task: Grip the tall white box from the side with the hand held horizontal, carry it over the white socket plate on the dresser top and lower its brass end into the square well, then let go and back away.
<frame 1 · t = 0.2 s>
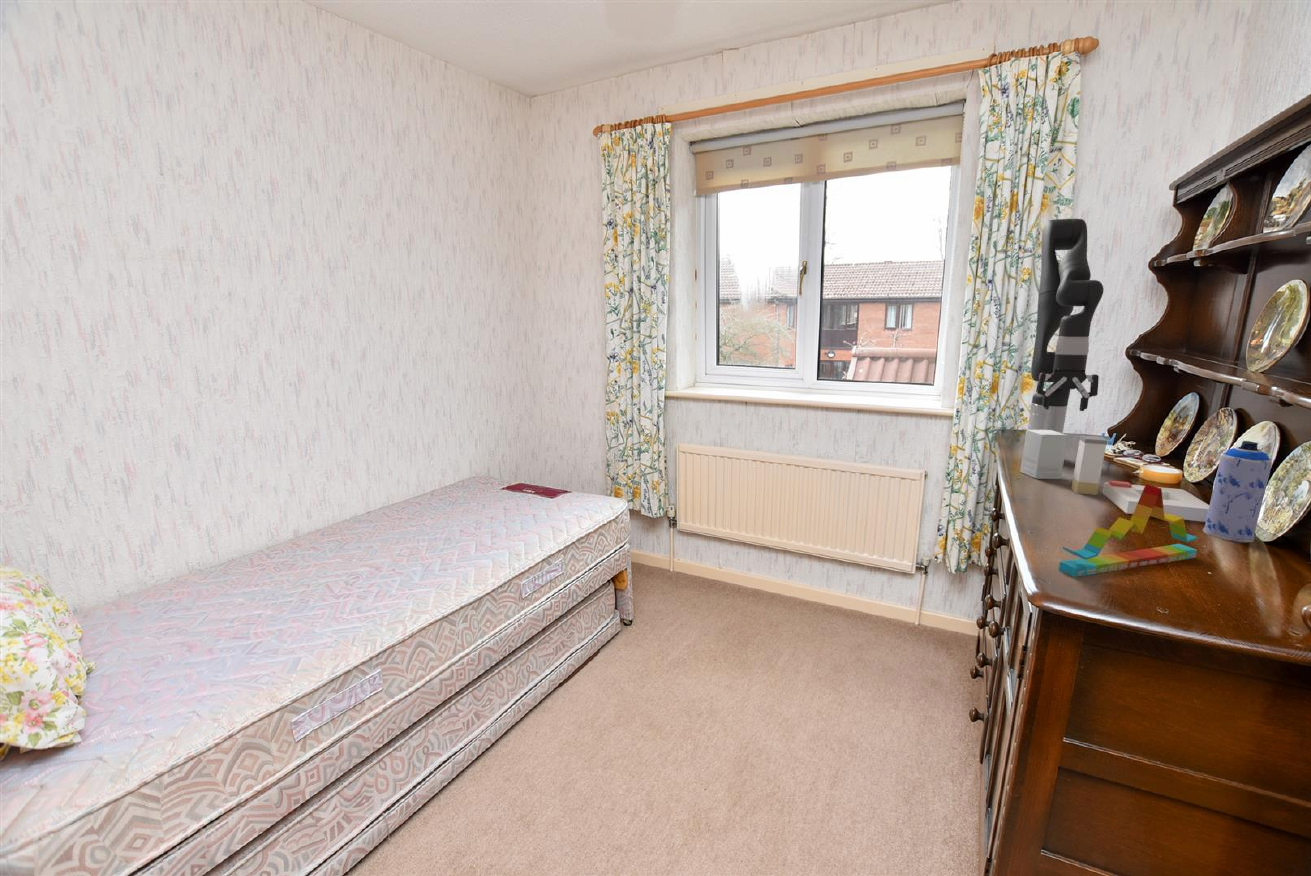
hand: (1063, 410, 167), 18 cm above the table, tool pointing down, fingers open, 8 cm apart
socket: (1154, 507, 139), on the table
tall white box: (1083, 491, 150), on the table
chart: (1128, 566, 107), on the table
aerosol can: (1227, 535, 122), on the table
supplement box: (1039, 476, 165), on the table
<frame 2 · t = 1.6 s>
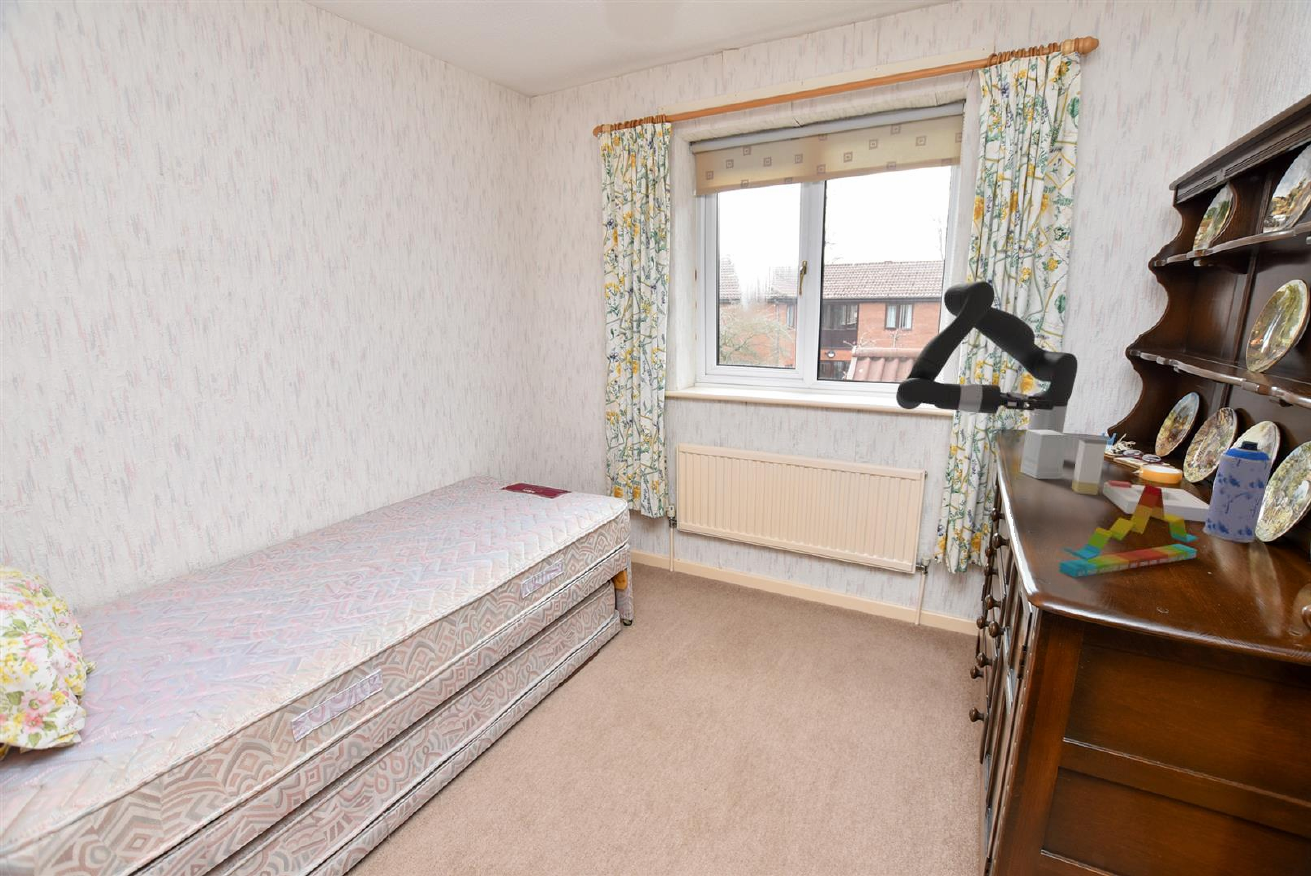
hand: (1048, 403, 149), 22 cm above the table, tool horizontal, fingers open, 8 cm apart
nothing on the table moved.
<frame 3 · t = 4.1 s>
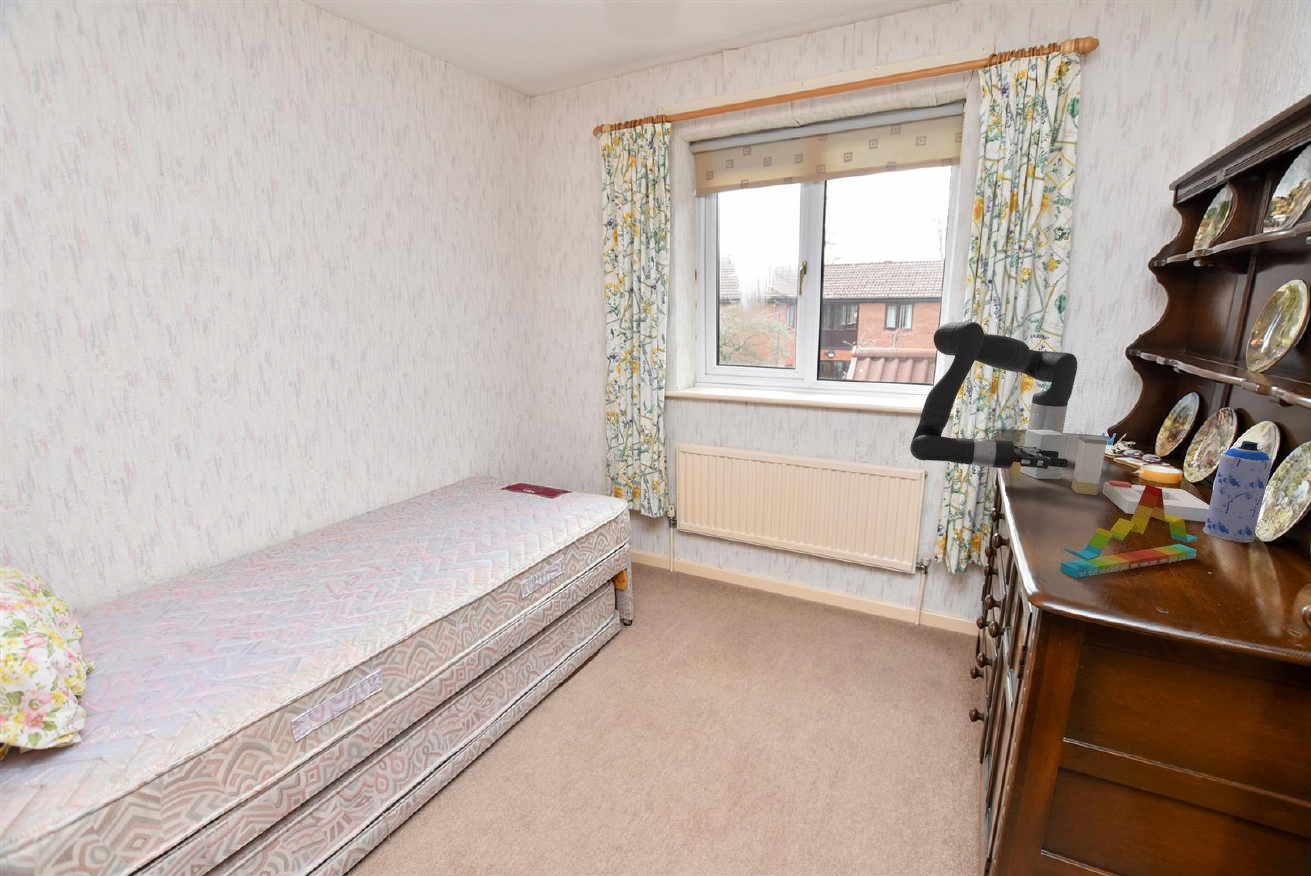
hand: (1062, 459, 151), 8 cm above the table, tool horizontal, fingers open, 8 cm apart
nothing on the table moved.
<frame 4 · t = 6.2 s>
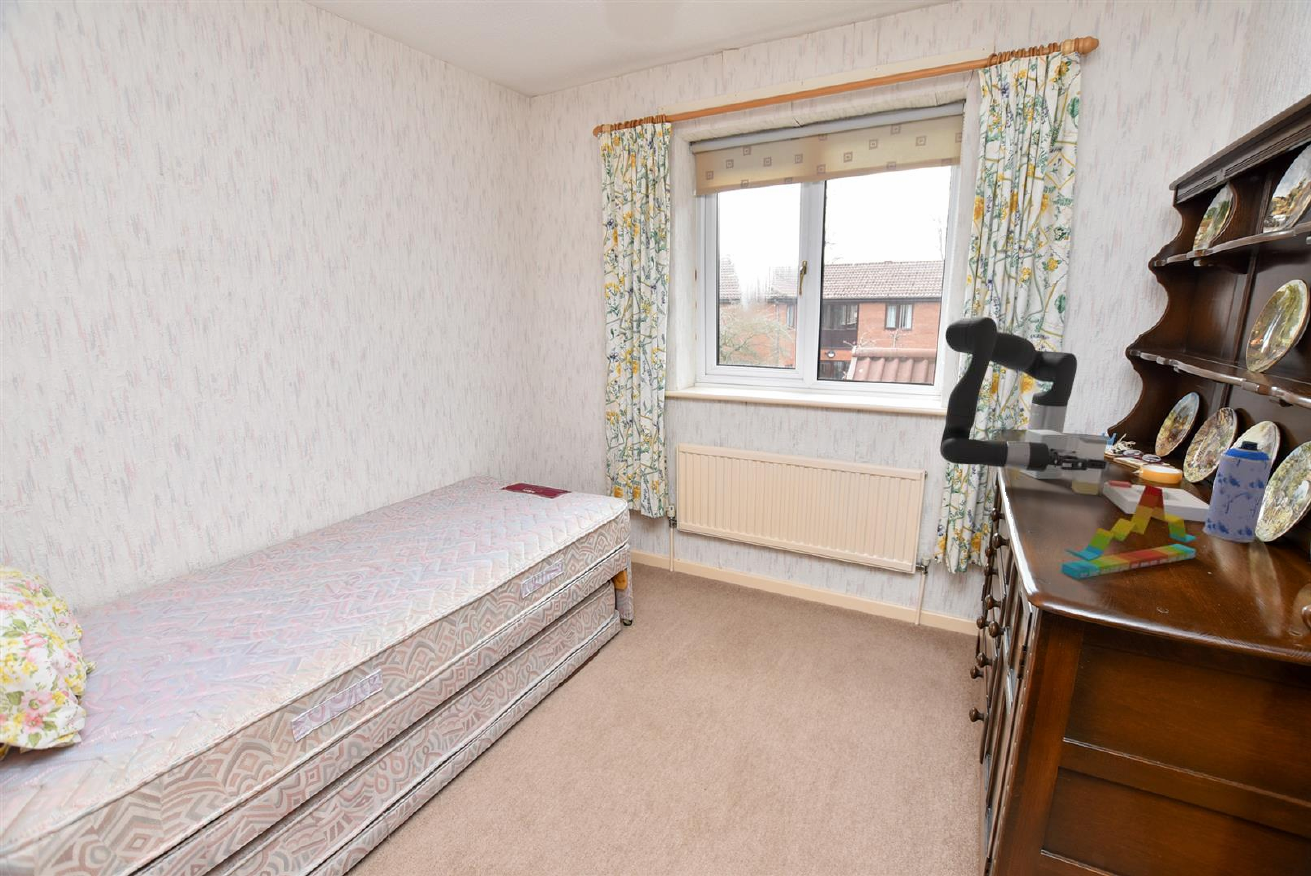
hand: (1101, 462, 148), 8 cm above the table, tool horizontal, fingers closed on tall white box, 4 cm apart
tall white box: (1083, 491, 150), on the table, touching gripper
everything else where it was.
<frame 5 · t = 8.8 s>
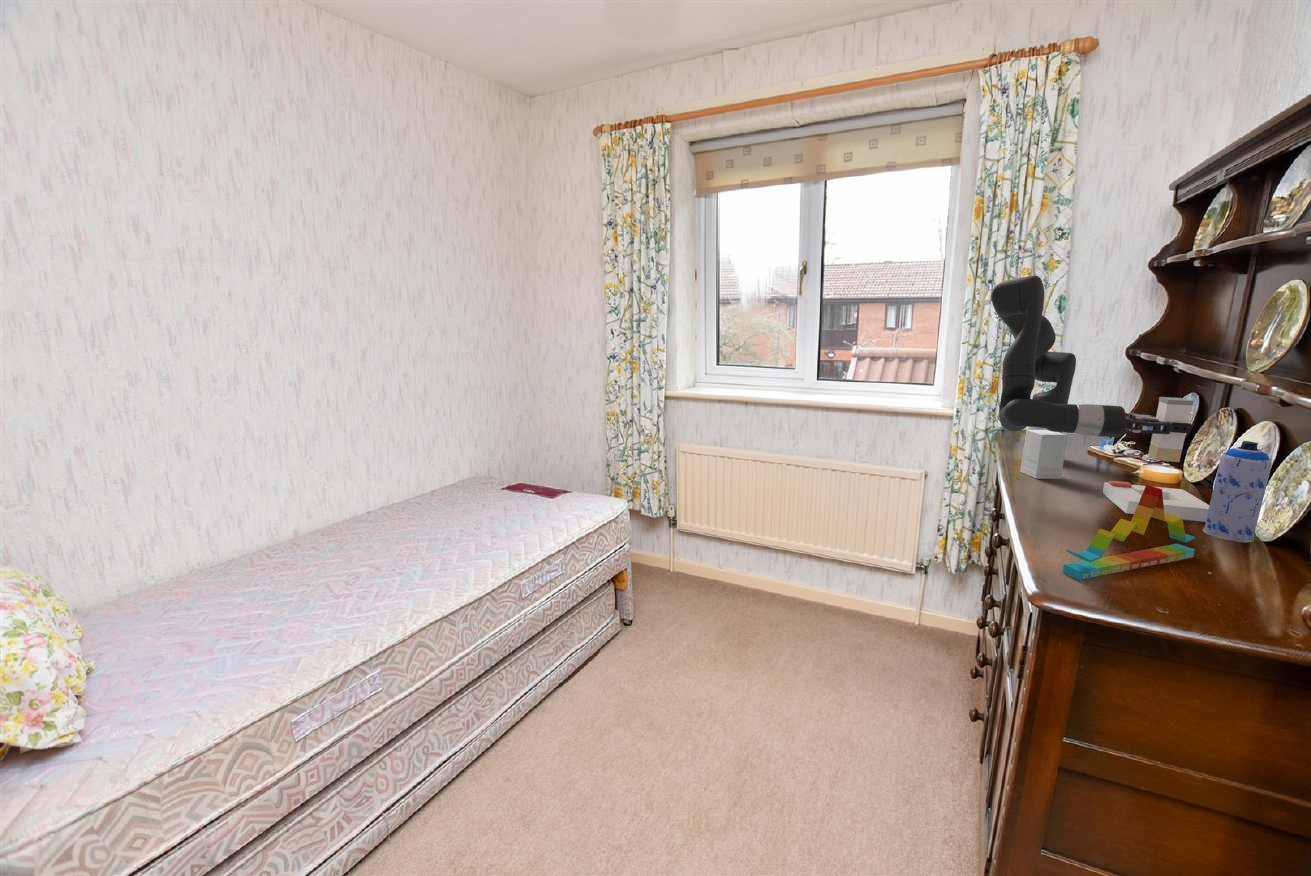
hand: (1185, 426, 133), 20 cm above the table, tool horizontal, fingers closed on tall white box, 4 cm apart
tall white box: (1163, 458, 136), point 12 cm above the table, touching gripper
everything else where it was.
when the fingers open (9 cm above the table, at t = 11.8 s): tall white box stays where it is, resting in socket.
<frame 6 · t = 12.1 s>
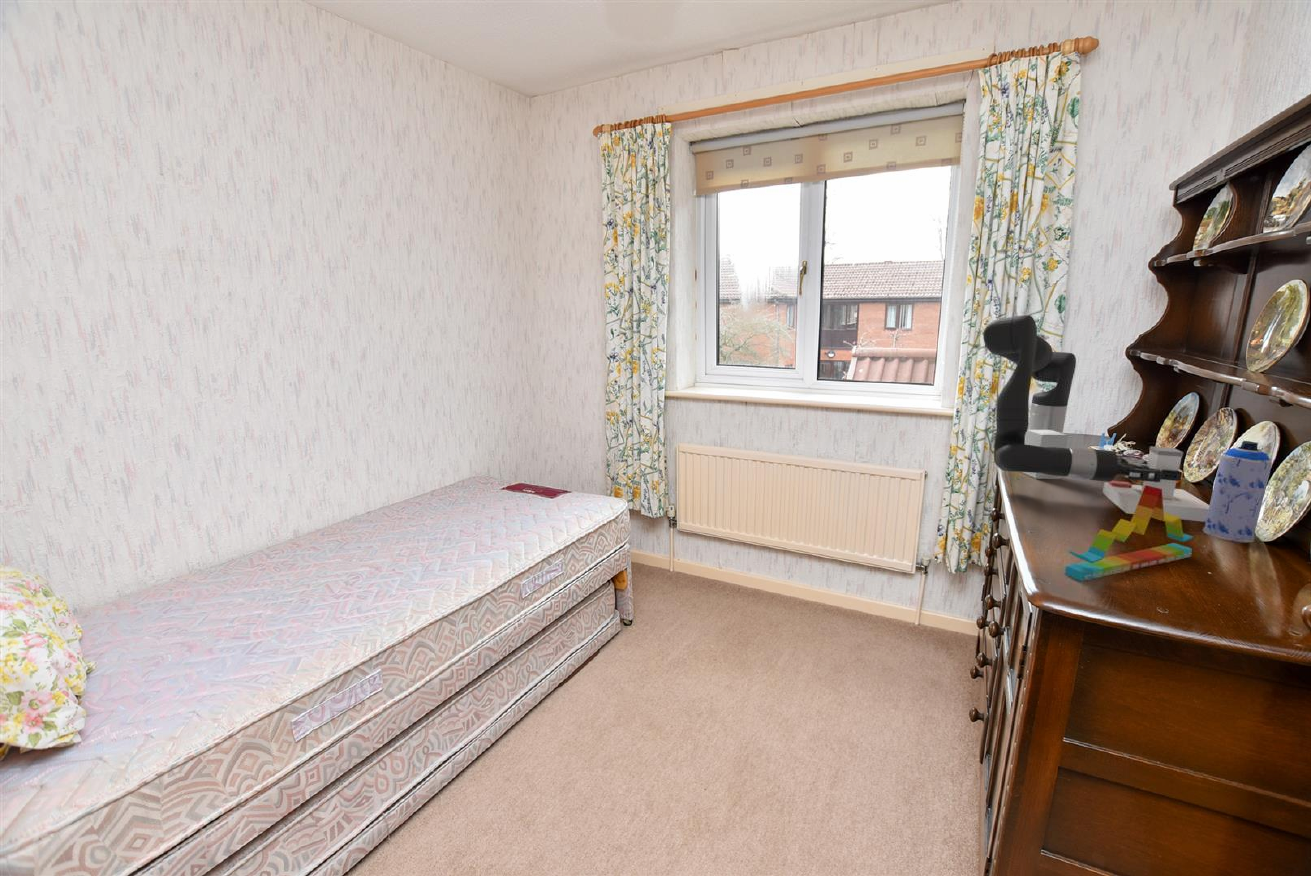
hand: (1172, 471, 136), 9 cm above the table, tool horizontal, fingers open, 7 cm apart
tall white box: (1154, 507, 139), resting in socket
everything else where it was.
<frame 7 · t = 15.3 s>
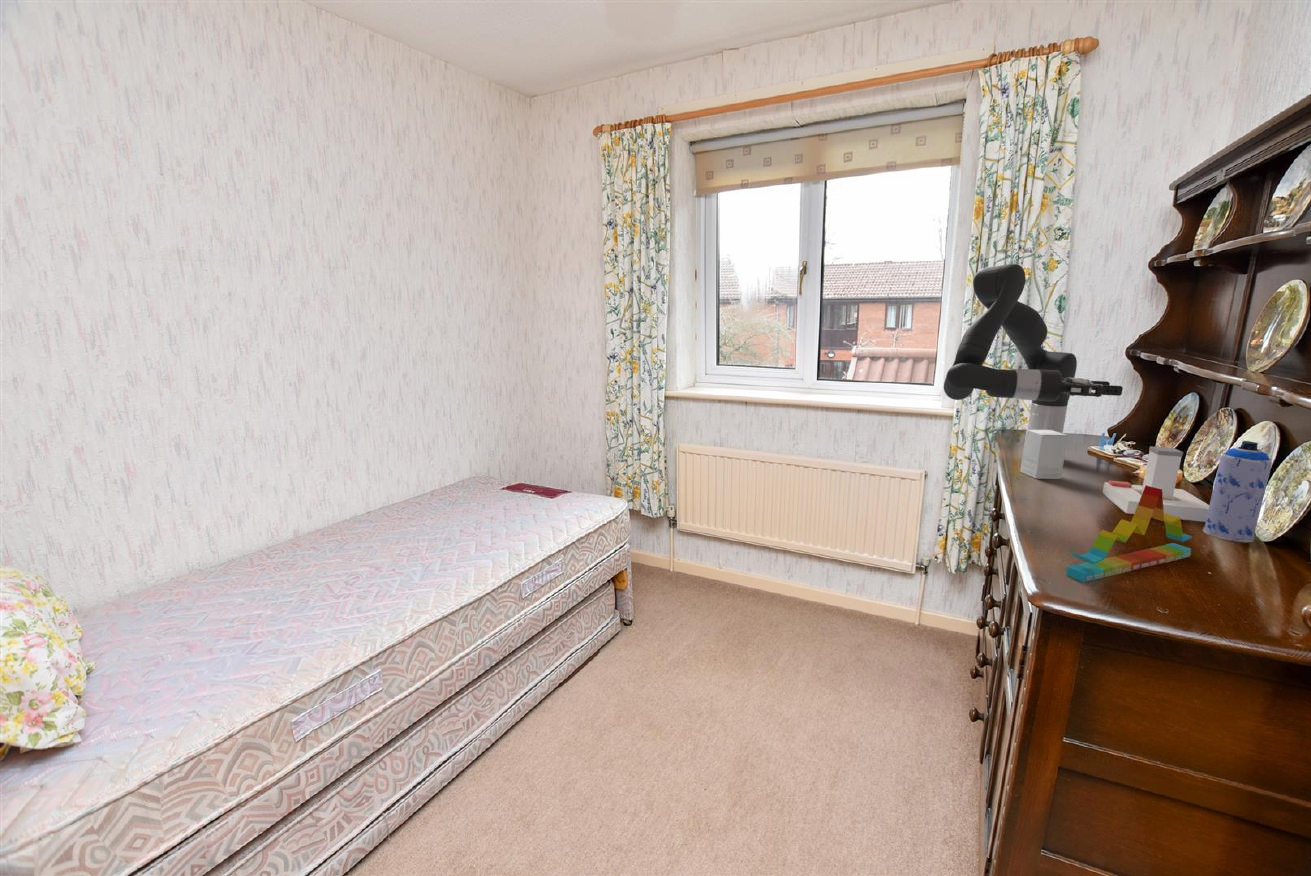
hand: (1115, 388, 137), 28 cm above the table, tool horizontal, fingers open, 8 cm apart
nothing on the table moved.
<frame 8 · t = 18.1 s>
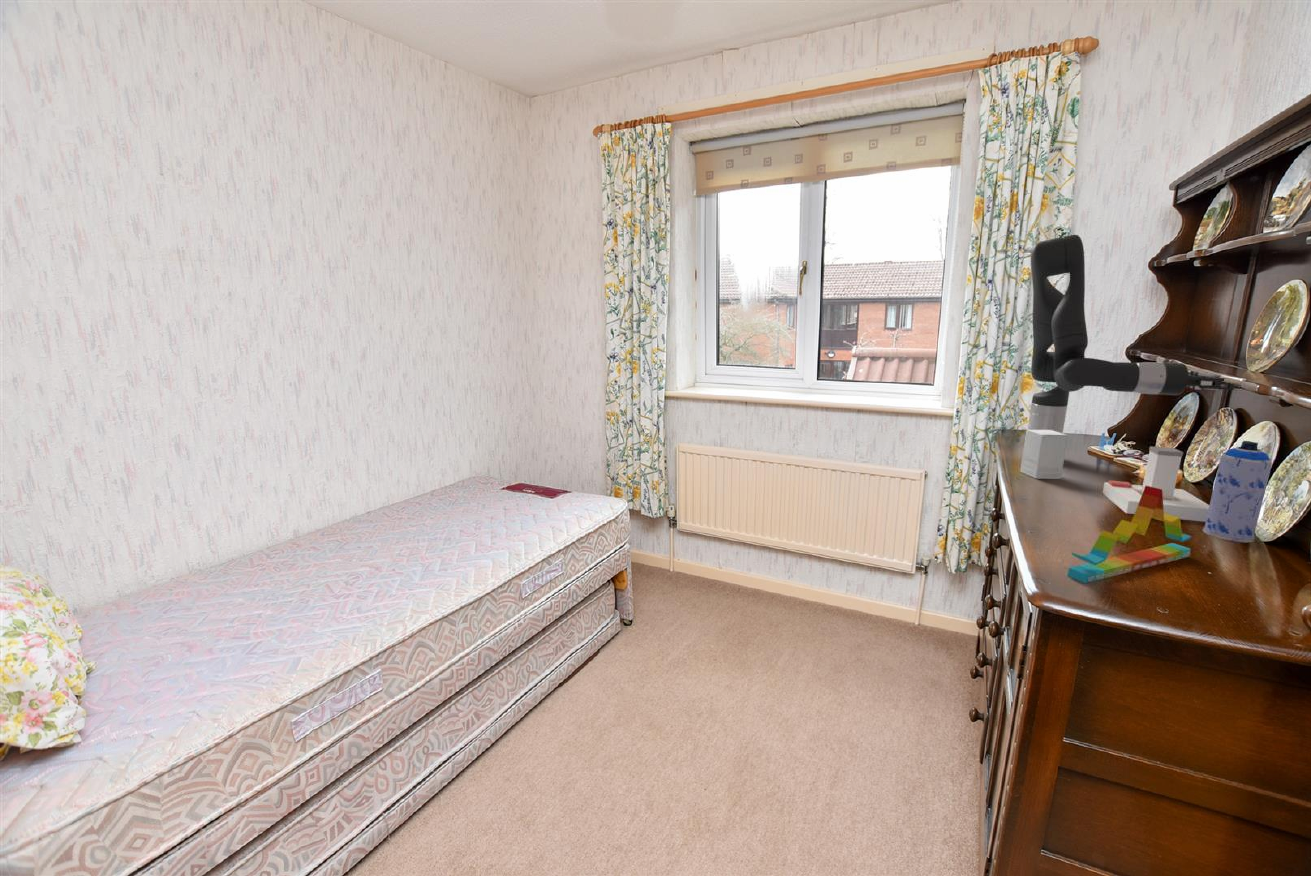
hand: (1244, 382, 133), 30 cm above the table, tool horizontal, fingers open, 8 cm apart
at the end: tall white box 0.0 cm off-centre on the socket, point 0.0 cm above the socket's base; tall white box tilted 0°; the gripper is holding nothing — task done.
